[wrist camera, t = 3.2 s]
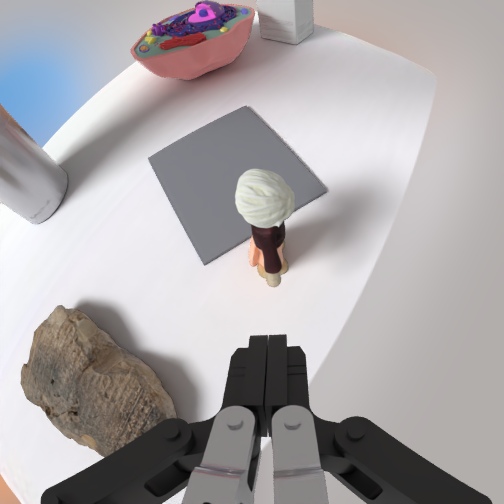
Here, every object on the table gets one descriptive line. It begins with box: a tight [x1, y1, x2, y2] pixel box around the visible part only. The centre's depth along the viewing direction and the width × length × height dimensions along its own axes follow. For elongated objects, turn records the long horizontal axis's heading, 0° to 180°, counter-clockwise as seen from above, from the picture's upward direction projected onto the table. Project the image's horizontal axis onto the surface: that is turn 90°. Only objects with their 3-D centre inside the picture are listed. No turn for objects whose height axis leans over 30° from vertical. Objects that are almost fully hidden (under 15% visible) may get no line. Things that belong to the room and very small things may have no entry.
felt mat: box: [148, 106, 326, 265], centre depth 30 cm, size 16×14×1 cm
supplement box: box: [256, 0, 314, 45], centre depth 35 cm, size 7×7×13 cm
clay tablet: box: [21, 305, 177, 457], centre depth 22 cm, size 14×5×20 cm
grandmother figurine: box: [235, 169, 295, 287], centre depth 21 cm, size 8×4×13 cm, turn 13°
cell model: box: [131, 0, 255, 80], centre depth 34 cm, size 17×20×11 cm
